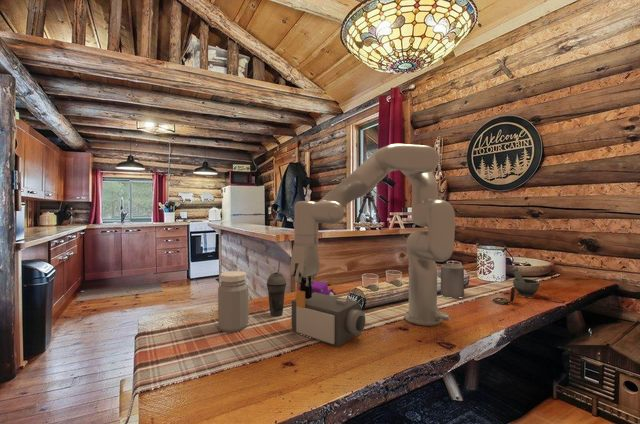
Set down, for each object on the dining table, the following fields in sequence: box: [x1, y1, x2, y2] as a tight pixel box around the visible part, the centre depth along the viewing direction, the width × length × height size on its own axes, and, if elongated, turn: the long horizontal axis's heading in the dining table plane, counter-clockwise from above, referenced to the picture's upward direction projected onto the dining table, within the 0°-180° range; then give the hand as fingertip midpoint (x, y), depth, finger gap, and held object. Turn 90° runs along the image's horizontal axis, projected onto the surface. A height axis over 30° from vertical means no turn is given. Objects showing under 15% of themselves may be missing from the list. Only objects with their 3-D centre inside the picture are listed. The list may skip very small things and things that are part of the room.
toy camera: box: [298, 280, 335, 297], centre depth 121 cm, size 11×14×10 cm
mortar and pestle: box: [511, 267, 540, 298], centre depth 136 cm, size 11×9×12 cm
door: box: [295, 289, 335, 344], centre depth 90 cm, size 14×1×13 cm, turn 53°
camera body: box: [291, 292, 366, 348], centre depth 95 cm, size 22×12×11 cm, turn 53°
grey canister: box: [440, 262, 465, 298], centre depth 136 cm, size 10×10×15 cm
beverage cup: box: [266, 260, 287, 318], centre depth 112 cm, size 7×7×20 cm
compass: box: [492, 286, 516, 305], centre depth 125 cm, size 8×8×7 cm
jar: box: [217, 270, 249, 333], centre depth 100 cm, size 10×10×18 cm
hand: (306, 297), depth 96 cm, fingers closed
